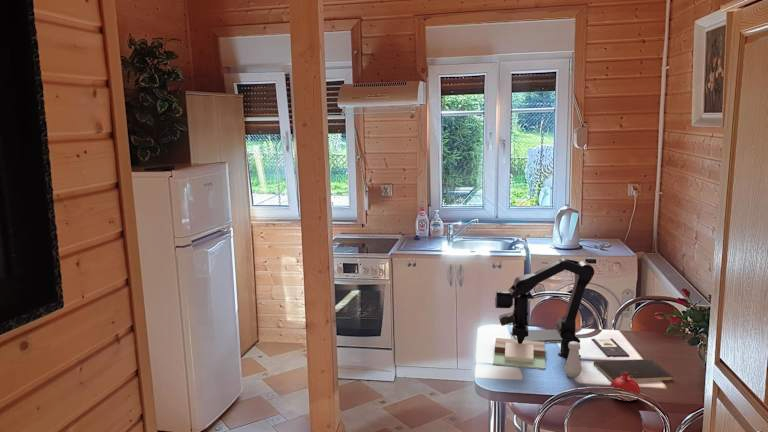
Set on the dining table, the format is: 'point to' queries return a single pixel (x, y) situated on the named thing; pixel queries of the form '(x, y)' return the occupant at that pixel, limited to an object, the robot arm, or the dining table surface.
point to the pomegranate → (626, 383)
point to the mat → (519, 362)
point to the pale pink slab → (519, 352)
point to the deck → (537, 345)
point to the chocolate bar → (610, 348)
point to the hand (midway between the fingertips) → (519, 344)
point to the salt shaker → (573, 360)
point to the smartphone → (543, 335)
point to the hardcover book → (633, 369)
